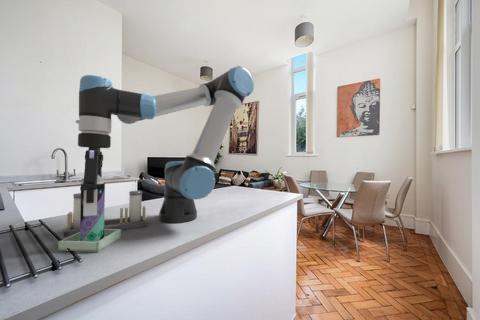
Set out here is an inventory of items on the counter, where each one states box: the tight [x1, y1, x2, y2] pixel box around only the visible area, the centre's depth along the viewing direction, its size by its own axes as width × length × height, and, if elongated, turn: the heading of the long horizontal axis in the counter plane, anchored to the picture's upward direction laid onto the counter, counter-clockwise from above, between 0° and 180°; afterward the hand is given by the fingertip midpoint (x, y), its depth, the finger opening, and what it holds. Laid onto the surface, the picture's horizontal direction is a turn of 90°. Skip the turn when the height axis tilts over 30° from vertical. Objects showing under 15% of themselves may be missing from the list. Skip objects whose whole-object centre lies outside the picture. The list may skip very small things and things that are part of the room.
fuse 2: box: [128, 190, 143, 223], centre depth 76 cm, size 4×4×12 cm
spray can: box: [80, 175, 106, 242], centre depth 58 cm, size 6×6×20 cm
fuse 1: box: [72, 192, 81, 229], centre depth 68 cm, size 4×4×12 cm
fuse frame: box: [63, 206, 148, 238], centre depth 72 cm, size 23×9×6 cm, turn 120°
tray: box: [57, 229, 122, 253], centre depth 58 cm, size 10×10×2 cm
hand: (93, 209), depth 58 cm, fingers open, 13 cm apart
